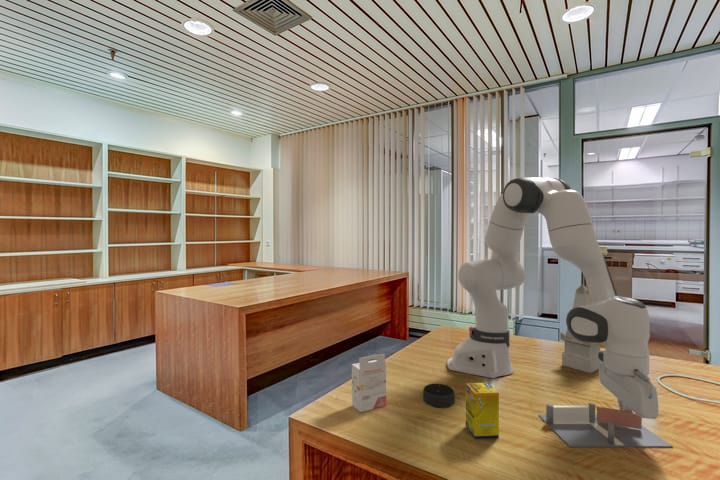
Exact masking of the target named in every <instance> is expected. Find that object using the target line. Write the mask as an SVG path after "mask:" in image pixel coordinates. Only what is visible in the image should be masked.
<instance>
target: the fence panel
mask: <svg viewBox="0 0 720 480" xmlns="http://www.w3.org/2000/svg"><path fill="white" fill-rule="evenodd" d="M596 415H597V422H600V423H606V424H608V422H611V423H614V425H618V426H624V427H630V428H636V429H642V426H643V422H642V421H643V420H642V419H643V418H641V417H639V416H638V415H637V414H636V413H634V412H633V411H632V412H630V411H623V410H620V409H616V408H609V407H603V406H596Z"/></svg>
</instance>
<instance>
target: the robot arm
mask: <svg viewBox="0 0 720 480" xmlns="http://www.w3.org/2000/svg"><path fill="white" fill-rule="evenodd" d="M530 214H541V215H542V216H543V217H544V218H545V222H546V226H547V231H548V232H547V233H548V237H549V243H550V245H551V248H552V250H553V252H554V253H555V254H556V255H557V256H558V257H559V258H560V259H562V260H564V261H567V262H569V264H572V265H574V266H576V267H577V268H578V269H579V270H580V272H581V273H582V274H583V277H584V280H585V282H586V286H587V289H589V292H590V297H591V303H592V304H589V305H583V306H578V307H576V308H573V307H572V309H570V310H569V311H568V313H567V314H566V317H565V323H566V324H565V325H566V329H567V328H568V330H569V332H570V333H571V335H572V336H573V337H575V338H576V339H578V340H580V341H583V342H593V343H600V344H603V345H604V346H605V347H604V349H605V350H600V351H598V352H597V357H598V359H599V370H598V379H599V382H600V384H601V386H602V387H604V388H605V389H606V390H608V391H609V392H610V393H611V394H612V395H614V396H615V397H616V398H617V401H616V402H617V403H618V407H619V410H623V411H630V412H634V413H636V414H637V415H638V416H639V417H641V418H642V419H647V420H648V419H649V420H650V419H651V420H656V419H657V418H658V417H659V413H660V411H659V399H658V392H657V388H656V386H655V385H654V384H653V383H652V382H651V379H650V377H649V375H650V351H649V347H648V346H649V345H648V343H649V340H650V337H651V333H650V329H651V328H650V316H649V310H648V307H647V306H646V305H645V304H644V303H643V302H642V301H640V300H638V299H636V298H632V297H628V296H622V295H618V293H617V290H616V288H615V284H614V281H613V279H612V275H611V271H610V269H609V266H608V263H607V261H606V258H605V256H604V254H603V252H602V250H601V247H600V245H599V242H598V239H597V236H596V231H595V229H594V225H593V220H592V217H591V213H590V211H589V208H588V205H587V203H586V201H585V199H584V197H583V195H582V194H581V193H580V192H579V191H577V190H574V189H572V188H571V186H570V185H569V184H568V183H567V182H566V181H564V180H562V179H559V178H555V177H554V178H551V177H545V176H537V177H535V176H533V177H532V176H530V177H527V176H522V177H521V176H520V177H516V178H513V179H511V180H510V181H508V182H507V183H506V184H505V186H504V188H503V190H502V193H501V194H500V196H499V197H498V198H497V200H496V202H495V205H494V207H493V209H492V212H491V215H490V219H489V223H488V227H487V230H486V233H485V237H484V242H485V245H486V246H487V248H488V249H490V250H491V258H489V259H474V260H470V261H467V262H465V263H462V264H461V265H460V267H459V268H458V272H457V278H458V281H459V284H460V286H461V287H462V288H463V289H465V290H466V291H467V293H468V294H469V296H470V297H471V299H472V302H473V306H474V314H475V315H474V319H475V321H474V322H475V326H473V325H471V326H469V328H468V331H469V337H468V338H467V339H465V340H463V341H462V342H461V343H459V344H458V345H457V346H456V347H455V349H454V352H453V356H451V357H449V358H448V360H447V363H446V367H447V368H448V369H449V370H450V371H454V372H458V373H465V374H470V375H474V376H479V377H484V378H491V379H496V378H498V377H501V376H502V377H503V376H509V375H511V374H513V373H514V369H513V365H512V360H511V356H510V345H511V334H510V330H509V310H508V306H506V304H504V303H503V302H501V301H500V300H499V298H498V294H497V291H501V290H502V291H503V290H511V289H515V288H517V287H520V286H521V285H522V284H524V282H525V279H526V271H525V268H524V266H523V265H522V263H521V261H519V260H520V259H519V247H520V243H521V241H522V235H523V232H524V228H525V226H526V221H527V219H528V217H529V215H530Z"/></svg>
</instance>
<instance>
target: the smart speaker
mask: <svg viewBox="0 0 720 480" xmlns="http://www.w3.org/2000/svg"><path fill="white" fill-rule="evenodd" d="M422 400H423V401H424V403H425V404H427V405H428V406H429V407H432V408H437V409H446V408H447V409H448V408H450V407H452V406H453V405H454V404H455V402H456V393H455V390H454V389H453V388H452V387H451V386H449V385H448V384H447V385H446V384H444V383H429V384H426V385H425V386H424V387H423V389H422Z"/></svg>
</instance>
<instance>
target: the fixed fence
mask: <svg viewBox="0 0 720 480" xmlns="http://www.w3.org/2000/svg"><path fill="white" fill-rule="evenodd" d="M545 406H546V407H545V409H546V411H545V415H546V422H547V423H549V424H553V423H589V422H590V423H595V415H596V404H595V403H592V402H591V403H588V405H553V404H550V403H546V405H545ZM608 442H609V443H611V444H614V423H611V422H608Z"/></svg>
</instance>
